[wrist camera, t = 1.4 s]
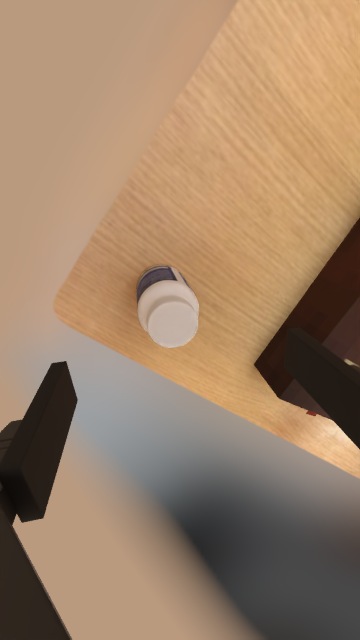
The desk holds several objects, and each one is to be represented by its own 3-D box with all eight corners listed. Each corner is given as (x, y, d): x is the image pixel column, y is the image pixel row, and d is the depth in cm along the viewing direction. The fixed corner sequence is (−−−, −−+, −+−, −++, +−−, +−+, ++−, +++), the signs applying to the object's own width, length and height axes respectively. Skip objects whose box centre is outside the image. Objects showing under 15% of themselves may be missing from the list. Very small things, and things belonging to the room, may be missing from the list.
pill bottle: (128, 299, 29) (125, 342, 20) (149, 254, 28) (156, 279, 19) (172, 318, 31) (187, 364, 22) (194, 276, 29) (220, 309, 20)
